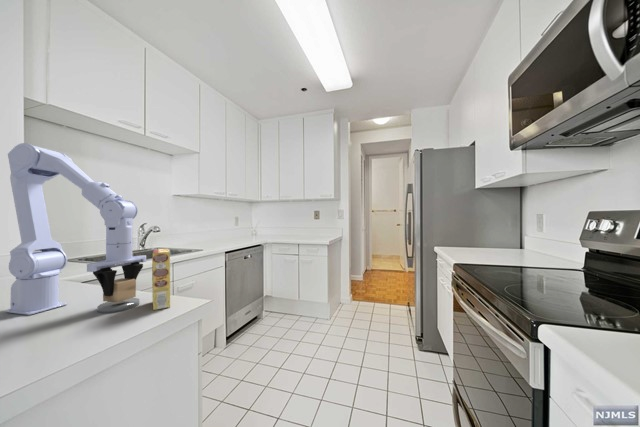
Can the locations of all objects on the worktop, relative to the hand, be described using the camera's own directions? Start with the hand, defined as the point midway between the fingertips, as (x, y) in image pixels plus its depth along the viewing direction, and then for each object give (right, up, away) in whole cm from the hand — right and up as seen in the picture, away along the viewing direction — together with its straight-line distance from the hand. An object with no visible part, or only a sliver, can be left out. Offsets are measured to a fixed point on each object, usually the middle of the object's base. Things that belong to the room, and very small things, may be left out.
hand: (119, 292), depth 68 cm
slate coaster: (0, -4, 0) cm, 4 cm away
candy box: (+11, -4, +1) cm, 12 cm away
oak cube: (0, -2, 0) cm, 2 cm away
